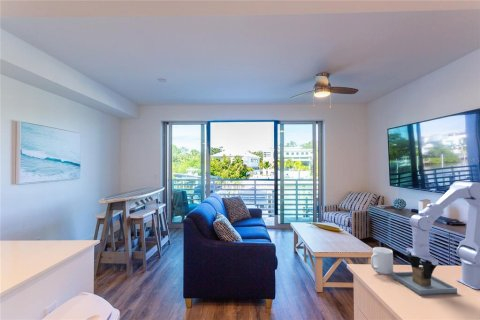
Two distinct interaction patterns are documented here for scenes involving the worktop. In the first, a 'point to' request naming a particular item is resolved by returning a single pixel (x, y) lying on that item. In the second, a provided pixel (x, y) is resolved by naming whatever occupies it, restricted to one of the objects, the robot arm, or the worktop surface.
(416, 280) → the block
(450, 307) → the worktop surface
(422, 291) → the tray
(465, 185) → the robot arm
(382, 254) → the cup
